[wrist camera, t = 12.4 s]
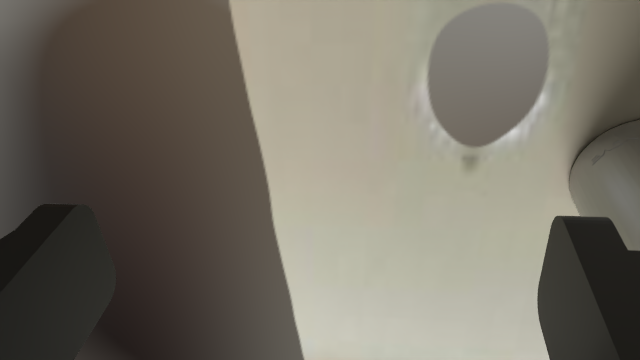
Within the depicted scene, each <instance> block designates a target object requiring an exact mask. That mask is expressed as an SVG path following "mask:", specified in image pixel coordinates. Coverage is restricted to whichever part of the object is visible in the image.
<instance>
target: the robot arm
mask: <svg viewBox="0 0 640 360" xmlns="http://www.w3.org/2000/svg"><path fill="white" fill-rule="evenodd" d="M569 188H570V193H571V196H572V199H573V202H574V204H575V206H576V208H577V210H578V213H579V215H580V216H556V217H555V218H554V220H553V222H552V225H551V229H550V234H549V239H548V243H547V248H546V253H545V257H544V262H543V267H542V272H541V276H540V281H539V286H538V315H539V321H540V325H541V329H542V332H543V336H544V340H545V343H546V347H547V351H548V354H549V358H550V360H640V120H637V121H633V122H629V123H625V124H622V125H620V126H617V127H615V128H613V129H610V130H609V131H607V132H605V133H604V134H602V135H600V136H599V137H597V138H596V139H595V140H594V141H592V142H591V143H590V144H589V145H588V146H587V147H586V148H585V149H584V150H583V151H582V153H581V154H580V155H579V156H578V158H577V160H576V161H575V163H574V165H573V167H572V170H571V174H570V179H569ZM115 283H116V273H115V268H114V265H113V262H112V259H111V257H110V254H109V251H108V249H107V246H106V244H105V241H104V238H103V236H102V233H101V230H100V227H99V225H98V222H97V220H96V217H95V215H94V212H93V211H92V209H91V208H90V207H89V206H87V205H84V204H43V205H40V206H38V207H37V208H36V209H35V210H34V211H33V212H32V213H31V214H30V215H29V216H28V217H27V218H26V219H25V220H24V221H23V222H22V223H21V224H20V226H19V227H18V228H17V229H16V230H15V231H13V232H11V233H9V234H8V235H6V236H5V237H3V238H2V239H0V360H74V359H75V357H76V356H77V354H78V352H79V351H80V349H81V348H82V346H83V344H84V343H85V341H86V339H87V338H88V336H89V334H90V333H91V331H92V330H93V328H94V327H95V325H96V323H97V321H98V320H99V318H100V317H101V315H102V313H103V312H104V310H105V309H106V307H107V306H108V304H109V302H110V300H111V298H112V296H113V293H114V289H115Z"/></svg>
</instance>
